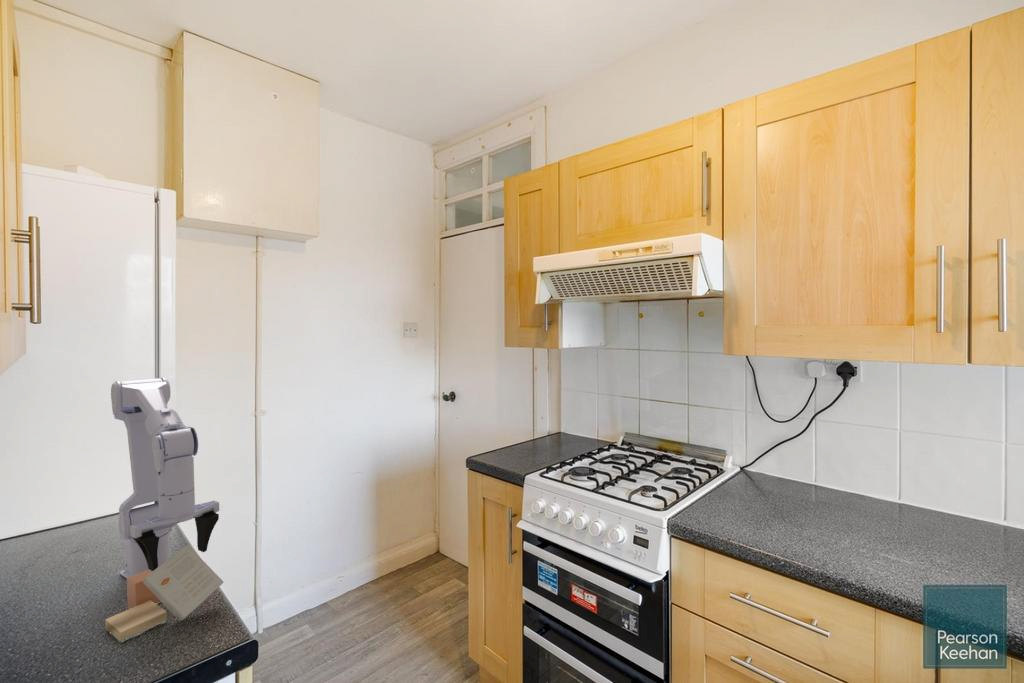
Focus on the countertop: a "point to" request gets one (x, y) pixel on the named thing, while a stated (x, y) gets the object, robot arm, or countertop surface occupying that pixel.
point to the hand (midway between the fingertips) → (178, 559)
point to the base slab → (135, 620)
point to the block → (139, 590)
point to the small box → (183, 582)
